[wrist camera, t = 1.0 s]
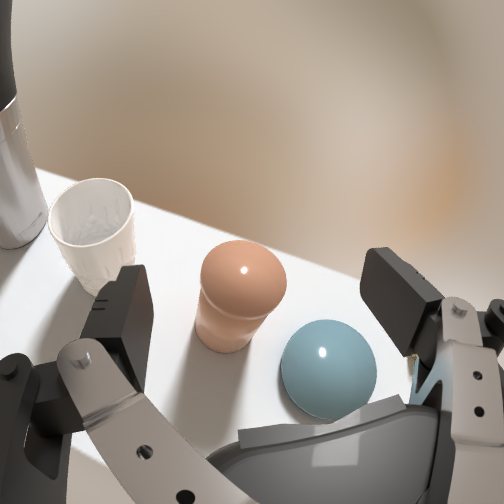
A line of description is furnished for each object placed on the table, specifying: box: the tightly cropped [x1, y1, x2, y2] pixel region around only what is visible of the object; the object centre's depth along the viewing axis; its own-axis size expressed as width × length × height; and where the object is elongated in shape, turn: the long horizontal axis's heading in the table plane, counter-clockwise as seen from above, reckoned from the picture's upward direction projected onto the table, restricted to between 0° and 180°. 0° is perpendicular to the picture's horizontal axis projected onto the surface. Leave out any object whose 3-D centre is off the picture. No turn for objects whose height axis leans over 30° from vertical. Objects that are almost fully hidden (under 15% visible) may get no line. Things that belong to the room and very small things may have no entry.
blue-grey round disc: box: [281, 320, 377, 420], centre depth 29 cm, size 11×11×1 cm
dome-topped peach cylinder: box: [195, 240, 287, 353], centre depth 26 cm, size 6×6×10 cm
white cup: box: [47, 178, 136, 297], centre depth 26 cm, size 8×8×10 cm
